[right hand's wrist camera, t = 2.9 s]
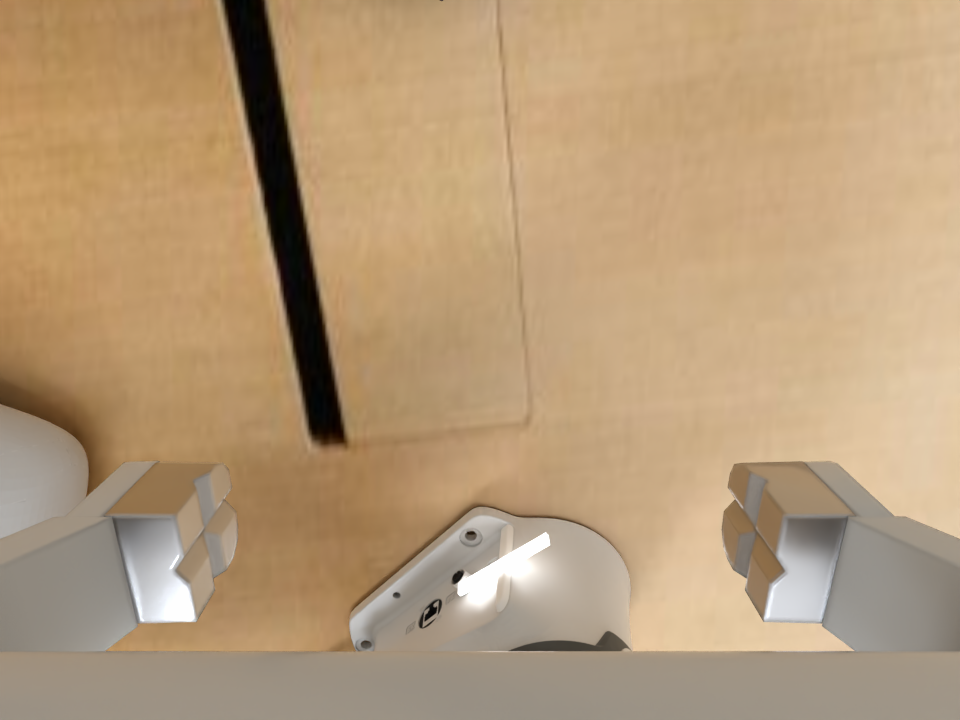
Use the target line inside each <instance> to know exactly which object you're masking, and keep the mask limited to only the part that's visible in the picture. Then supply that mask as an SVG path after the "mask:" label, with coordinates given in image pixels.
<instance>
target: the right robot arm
mask: <svg viewBox="0 0 960 720" xmlns="http://www.w3.org/2000/svg"><path fill="white" fill-rule="evenodd" d="M231 489H232V483H231V478H230V473H229V469H228V468H227V467H226V465H225V464H224V463H213V462H160V461H135V462H125V463H123V464H122V465H121V466H120V467H119V468H117V469H116V470H115V471H114V472H113V473H112V474H111V475H110V476H109V477H108V478H107V479H105V480H104V481H103V482H102V483H101V484H100V485H99V486H98V487H97V488H96V489H95V490H93V491H92V492H91V493H90V494H89V495H88V496H87V497H86V498H85V499H84V500H83V501H81V502H80V503H79V504H78V505H77V506H76V507H75V508H74V509H73V510H72V511H71V512H70V513H68V514H67V515H66V516H65V517H52V518H50V519H48V520H45V521H43V522H40V523H38V524H35V525H33V526H31V527H28V528H26V529H23V530H21V531H18V532H16V533H13V534H11V535H9V536H6V537H4V538H1V539H0V720H960V539H959V538H956V537H954V536H951V535H949V534H946V533H944V532H942V531H939V530H937V529H934V528H932V527H929V526H927V525H925V524H922V523H920V522H917V521H915V520H912V519H910V518H908V517H895V516H894V515H893V514H892V513H891V512H889V511H888V510H887V509H886V508H885V507H884V506H883V505H882V504H881V503H880V502H879V501H878V500H876V499H875V498H874V497H873V496H872V495H871V494H870V493H869V492H868V491H867V490H866V489H864V488H863V487H862V486H861V485H860V484H859V483H858V482H857V481H856V480H855V479H854V478H853V477H851V476H850V475H849V474H848V473H847V472H846V471H845V470H844V469H843V468H842V467H841V466H840V465H838V464H837V463H834V462H831V461H811V462H762V463H739V464H734V466H733V468H732V470H731V473H730V477H729V483H728V489H729V490H730V492H731V493H732V495H733V496H734V498H735V500H734V501H733V502H732V503H731V504H730V505H729V506H728V507H727V509H726V510H725V511H724V514H723V522H722V538H723V547H724V550H725V553H726V556H727V559H728V561H729V563H730V565H731V567H732V568H733V570H734V571H736V572H737V573H739V574H741V575H742V576H744V577H745V578H747V581H746V587H745V591H746V593H747V594H748V596H749V598H750V600H751V601H752V603H753V605H754V606H755V608H756V610H757V611H758V613H759V615H760V617H761V618H762V620H763V622H789V623H823V624H822V626H823V627H824V628H825V629H827V630H828V631H829V632H831V633H832V634H833V635H835V636H836V637H837V638H839V639H840V640H841V641H843V642H844V643H845V644H847V645H848V646H849V647H851V648H852V649H853V650H855V651H633V648H632V640H631V632H630V620H629V606H630V597H631V583H630V577H629V573H628V570H627V567H626V565H625V563H624V561H623V559H622V558H621V556H620V554H619V553H618V552H617V551H616V549H615V548H614V547H613V546H612V545H611V544H610V543H609V542H608V541H607V540H605V539H604V538H603V537H602V536H600V535H599V534H597V533H596V532H594V531H592V530H590V529H588V528H586V527H584V526H581V525H579V524H576V523H573V522H569V521H565V520H560V519H553V518H524V517H515V516H513V515H510V514H508V513H505V512H502V511H500V510H497V509H493V508H489V507H476V508H474V509H472V510H470V511H469V512H468V513H467V514H465V515H464V516H463V517H462V518H461V519H459V520H458V521H457V522H456V523H455V524H454V525H452V526H451V527H450V528H449V529H448V530H446V531H445V532H444V533H443V534H442V535H441V536H439V537H438V538H437V539H436V540H435V541H433V542H432V543H431V544H430V545H429V546H428V547H426V548H425V549H424V550H423V551H422V552H420V553H419V554H418V555H417V556H416V557H414V558H413V559H412V560H411V561H410V562H409V563H407V564H406V565H405V566H404V567H403V568H401V569H400V570H399V571H398V572H397V573H396V574H394V575H393V576H392V577H391V578H390V579H388V580H387V581H386V582H385V583H384V584H382V585H381V586H380V587H379V588H378V589H377V590H375V591H374V592H373V593H372V594H371V595H369V596H368V597H367V598H366V599H365V600H364V601H362V602H361V603H360V604H359V605H358V606H357V607H355V609H354V610H353V611H352V612H351V614H350V620H349V629H350V635H351V639H352V642H353V645H354V648H355V650H356V651H106V650H107V649H108V648H110V647H111V646H112V645H114V644H115V643H116V642H118V641H119V640H120V639H122V638H123V637H124V636H126V635H127V634H128V633H130V632H131V631H132V630H134V629H135V628H136V627H138V624H137V623H170V622H197V620H198V618H199V617H200V615H201V613H202V612H203V610H204V608H205V606H206V605H207V603H208V601H209V600H210V598H211V596H212V594H213V593H214V591H215V587H214V581H213V578H215V577H216V576H218V575H219V574H221V573H223V572H224V571H226V570H227V568H228V566H229V565H230V563H231V561H232V559H233V557H234V553H235V549H236V545H237V541H238V521H237V514H236V511H235V510H234V509H233V507H232V506H231V505H230V504H229V503H228V502H227V501H226V500H225V498H226V496H227V495H228V493H229V492H230V490H231ZM468 531H474V532H475V534H473V535H469V534H467V532H468ZM366 641H369V642H366Z"/></svg>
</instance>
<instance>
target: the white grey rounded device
mask: <svg viewBox="0 0 960 720" xmlns="http://www.w3.org/2000/svg"><path fill="white" fill-rule="evenodd" d="M88 476H89V469H88V459H87V455H86V452H85V450H84V448H83V446H82V445H81V444H80V442H79V441H78V440H77V439H76V438H75V437H74V436H72V435H71V434H70V433H68V432H67V431H65V430H64V429H62V428H60V427H58V426H56V425H54V424H52V423H50V422H48V421H46V420H43V419H41V418H38V417H36V416H33V415H31V414H28V413H25V412H22V411H19V410H16V409H14V408H10V407H7V406H4V405H1V404H0V539H1V538H4V537H6V536H9V535H11V534H13V533H16V532H18V531H21V530H23V529H26V528H28V527H31V526H33V525H35V524H38V523H40V522H43V521H45V520H48V519H50V518H52V517H65V516H66V515H67V514H68V513H70V512H71V511H72V510H73V509H74V508H75V507H76V506H77V505H78V504H79V503H80V502H81V501H83V500H84V499H85V498H86V494H87V488H88Z"/></svg>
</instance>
